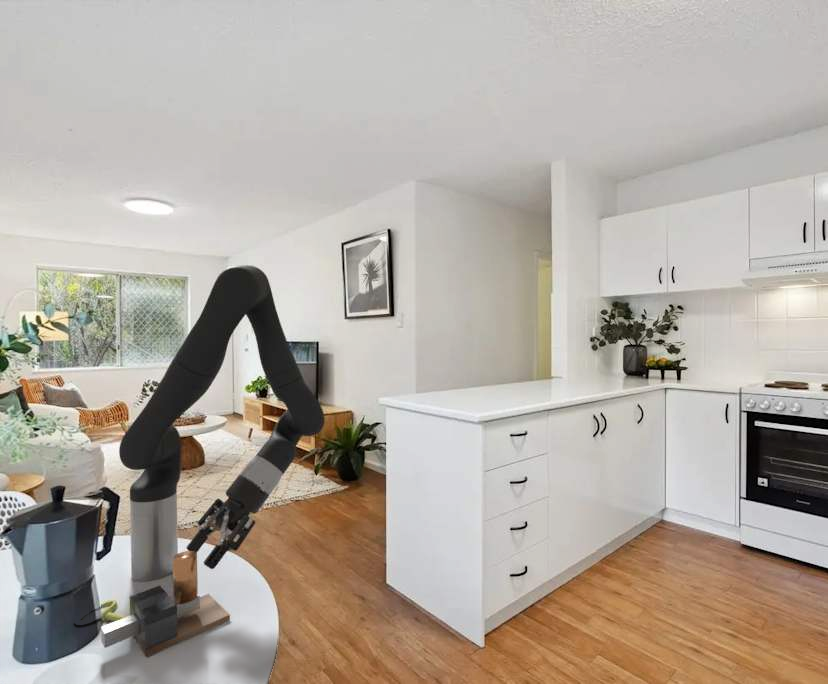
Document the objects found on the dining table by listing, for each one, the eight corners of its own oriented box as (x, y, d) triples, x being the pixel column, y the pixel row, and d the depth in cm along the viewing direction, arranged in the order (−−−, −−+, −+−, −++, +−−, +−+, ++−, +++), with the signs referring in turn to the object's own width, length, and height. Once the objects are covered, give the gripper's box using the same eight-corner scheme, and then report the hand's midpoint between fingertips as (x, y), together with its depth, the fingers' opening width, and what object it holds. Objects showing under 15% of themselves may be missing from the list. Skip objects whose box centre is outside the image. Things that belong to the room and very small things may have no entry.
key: (129, 631, 84) (129, 619, 84) (67, 627, 85) (67, 616, 85) (155, 607, 91) (155, 597, 91) (98, 604, 93) (97, 594, 92)
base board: (129, 630, 83) (129, 625, 83) (208, 598, 93) (208, 593, 93) (146, 657, 76) (146, 651, 76) (229, 619, 86) (229, 614, 86)
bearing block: (130, 626, 83) (129, 596, 83) (160, 614, 87) (160, 585, 87) (145, 650, 77) (144, 617, 77) (177, 636, 80) (176, 604, 80)
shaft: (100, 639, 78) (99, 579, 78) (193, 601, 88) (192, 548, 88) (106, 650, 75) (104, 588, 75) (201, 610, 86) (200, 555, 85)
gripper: (227, 467, 98) (170, 538, 90) (259, 481, 88) (198, 562, 80) (251, 485, 102) (198, 555, 94) (285, 501, 92) (229, 581, 84)
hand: (198, 558), depth 87 cm, fingers open, 8 cm apart
